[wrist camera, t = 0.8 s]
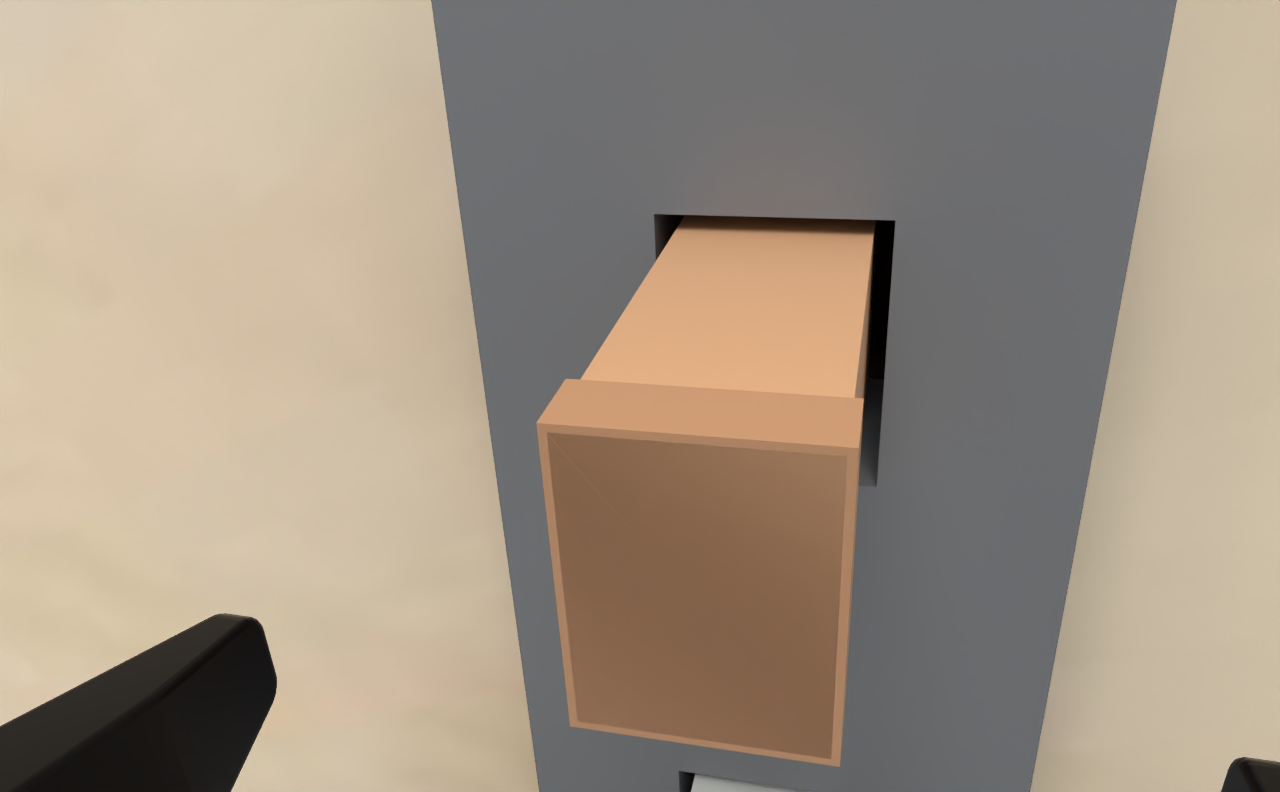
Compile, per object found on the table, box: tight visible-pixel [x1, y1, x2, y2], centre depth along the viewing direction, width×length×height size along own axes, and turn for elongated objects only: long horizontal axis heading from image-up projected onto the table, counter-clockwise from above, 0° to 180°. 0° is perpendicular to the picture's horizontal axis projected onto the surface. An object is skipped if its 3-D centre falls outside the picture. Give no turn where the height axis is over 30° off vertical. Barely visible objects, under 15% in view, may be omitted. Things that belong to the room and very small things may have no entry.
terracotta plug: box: [536, 215, 878, 767], centre depth 15 cm, size 4×3×10 cm
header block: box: [431, 0, 1177, 792], centre depth 21 cm, size 24×10×4 cm, turn 3°
